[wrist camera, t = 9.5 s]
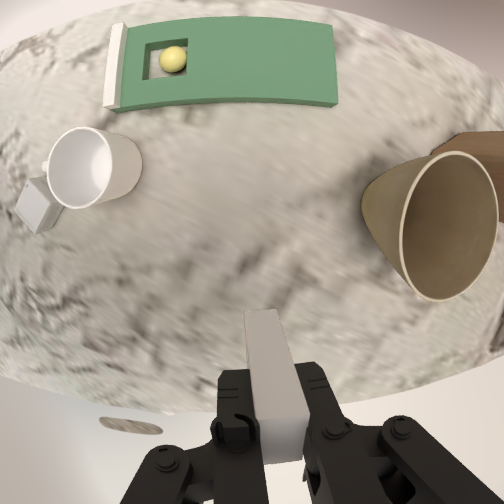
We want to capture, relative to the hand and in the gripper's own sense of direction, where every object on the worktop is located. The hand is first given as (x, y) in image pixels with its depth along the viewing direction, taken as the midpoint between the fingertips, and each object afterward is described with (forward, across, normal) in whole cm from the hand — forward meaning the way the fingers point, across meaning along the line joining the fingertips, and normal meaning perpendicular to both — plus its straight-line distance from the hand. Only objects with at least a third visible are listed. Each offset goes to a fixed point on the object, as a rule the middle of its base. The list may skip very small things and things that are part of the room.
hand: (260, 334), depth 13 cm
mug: (+24, -18, +10) cm, 32 cm away
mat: (+24, -2, +22) cm, 33 cm away
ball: (+22, -8, +23) cm, 33 cm away
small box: (+24, -28, +6) cm, 38 cm away
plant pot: (+24, +20, +3) cm, 31 cm away
